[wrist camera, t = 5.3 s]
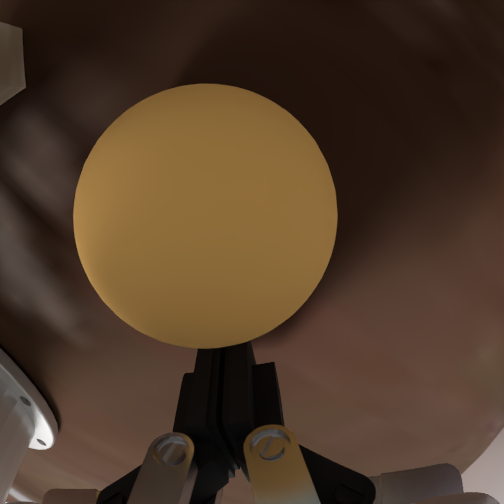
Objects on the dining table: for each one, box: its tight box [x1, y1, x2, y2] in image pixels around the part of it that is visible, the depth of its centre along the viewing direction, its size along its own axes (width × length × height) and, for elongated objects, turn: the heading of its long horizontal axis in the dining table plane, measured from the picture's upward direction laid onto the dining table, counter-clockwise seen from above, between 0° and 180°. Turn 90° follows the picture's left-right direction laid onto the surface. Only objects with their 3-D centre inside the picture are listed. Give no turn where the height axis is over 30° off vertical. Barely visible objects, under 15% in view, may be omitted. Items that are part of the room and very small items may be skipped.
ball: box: [73, 84, 338, 349], centre depth 7 cm, size 6×6×6 cm
